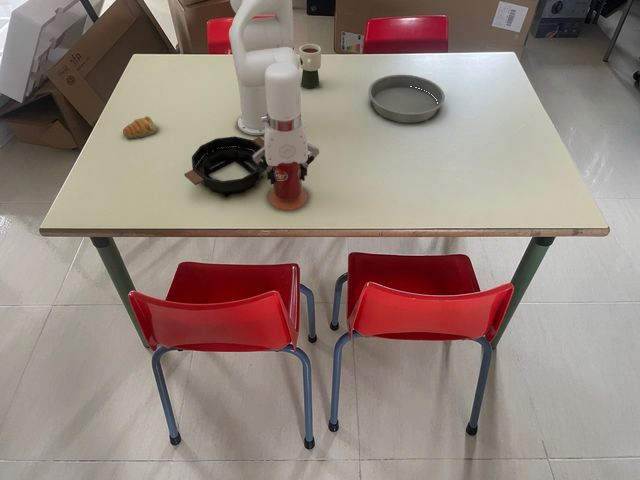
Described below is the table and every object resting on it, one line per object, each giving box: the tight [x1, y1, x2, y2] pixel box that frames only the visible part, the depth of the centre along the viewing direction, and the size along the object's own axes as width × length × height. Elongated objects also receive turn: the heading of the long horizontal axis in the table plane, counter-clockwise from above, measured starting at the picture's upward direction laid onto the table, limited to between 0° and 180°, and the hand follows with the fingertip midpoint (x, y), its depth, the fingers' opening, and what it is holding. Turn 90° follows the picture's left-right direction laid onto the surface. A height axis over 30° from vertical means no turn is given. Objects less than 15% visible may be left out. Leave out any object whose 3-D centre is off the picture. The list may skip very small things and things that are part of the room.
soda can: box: [272, 161, 303, 200], centre depth 119 cm, size 7×7×12 cm
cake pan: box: [368, 74, 446, 124], centre depth 155 cm, size 25×25×4 cm
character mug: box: [298, 43, 322, 89], centre depth 159 cm, size 11×7×13 cm, turn 176°
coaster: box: [268, 187, 308, 212], centre depth 125 cm, size 10×10×1 cm
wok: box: [183, 135, 266, 198], centre depth 128 cm, size 24×19×6 cm
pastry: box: [122, 115, 157, 139], centre depth 142 cm, size 9×7×4 cm
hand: (287, 178), depth 120 cm, fingers closed on soda can, 7 cm apart
